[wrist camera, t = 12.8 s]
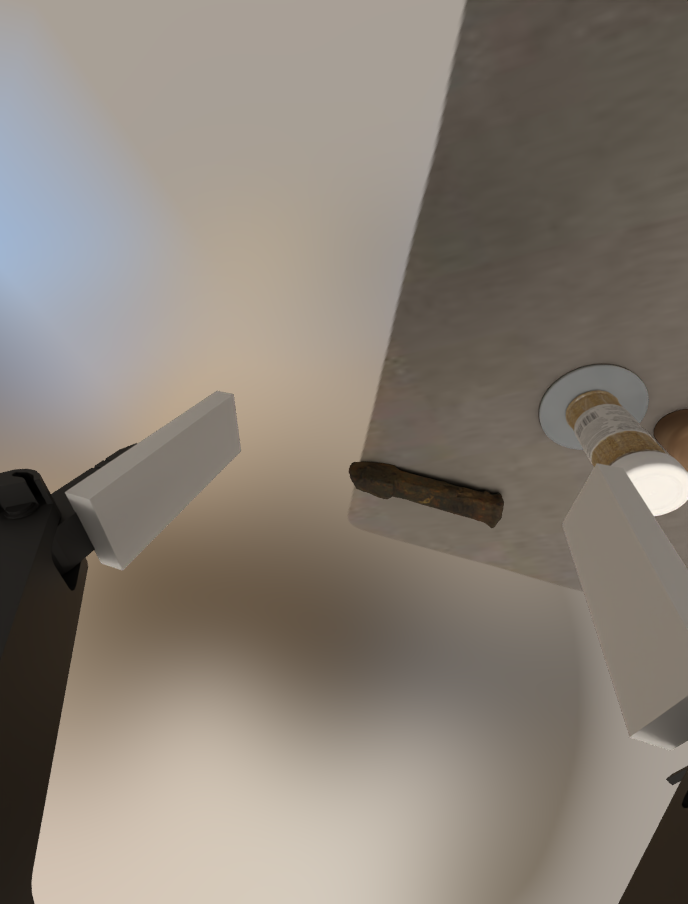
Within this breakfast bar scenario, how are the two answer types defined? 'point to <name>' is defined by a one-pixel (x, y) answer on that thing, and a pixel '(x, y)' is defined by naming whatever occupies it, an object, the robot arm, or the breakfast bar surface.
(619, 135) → the breakfast bar surface
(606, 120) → the breakfast bar surface
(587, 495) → the robot arm
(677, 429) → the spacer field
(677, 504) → the sprinkles bottle
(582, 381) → the coaster
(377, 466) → the dark brown elongated piece
